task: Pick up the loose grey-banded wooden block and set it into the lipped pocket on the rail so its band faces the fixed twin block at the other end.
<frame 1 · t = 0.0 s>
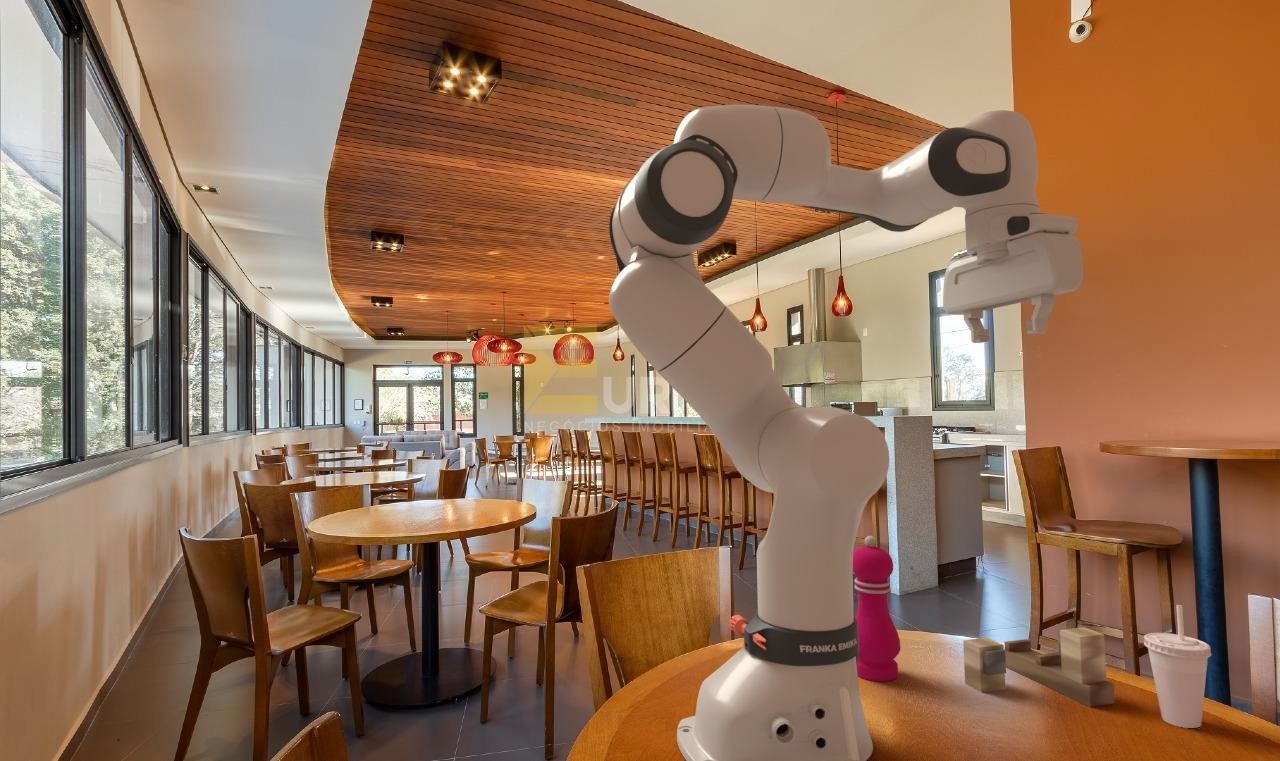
hand: (1007, 338, 85), 48 cm above the table, tool pointing down, fingers open, 8 cm apart
smoothie: (1181, 723, 78), on the table
grey-banded wooden block: (985, 686, 89), on the table
pepper mill: (875, 674, 94), on the table
rail: (1055, 683, 90), on the table
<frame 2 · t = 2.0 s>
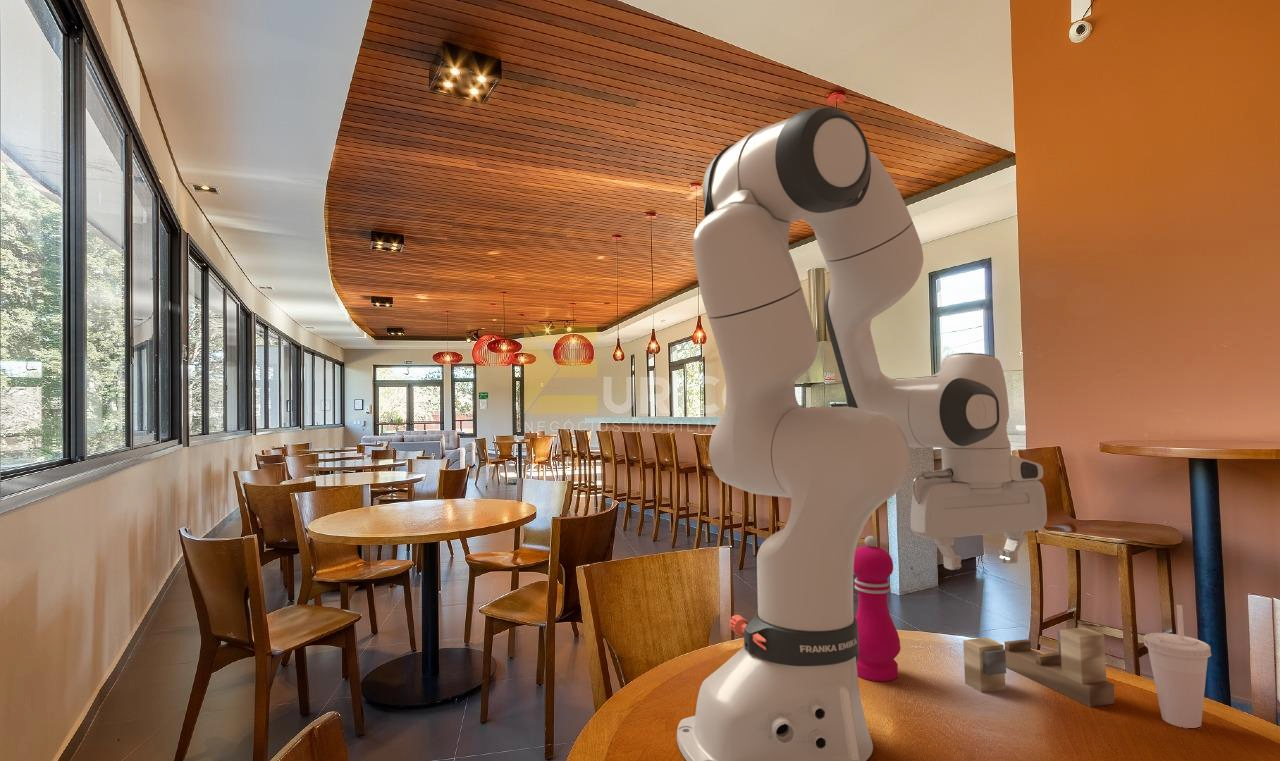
hand: (981, 565, 91), 16 cm above the table, tool pointing down, fingers open, 8 cm apart
nothing on the table moved.
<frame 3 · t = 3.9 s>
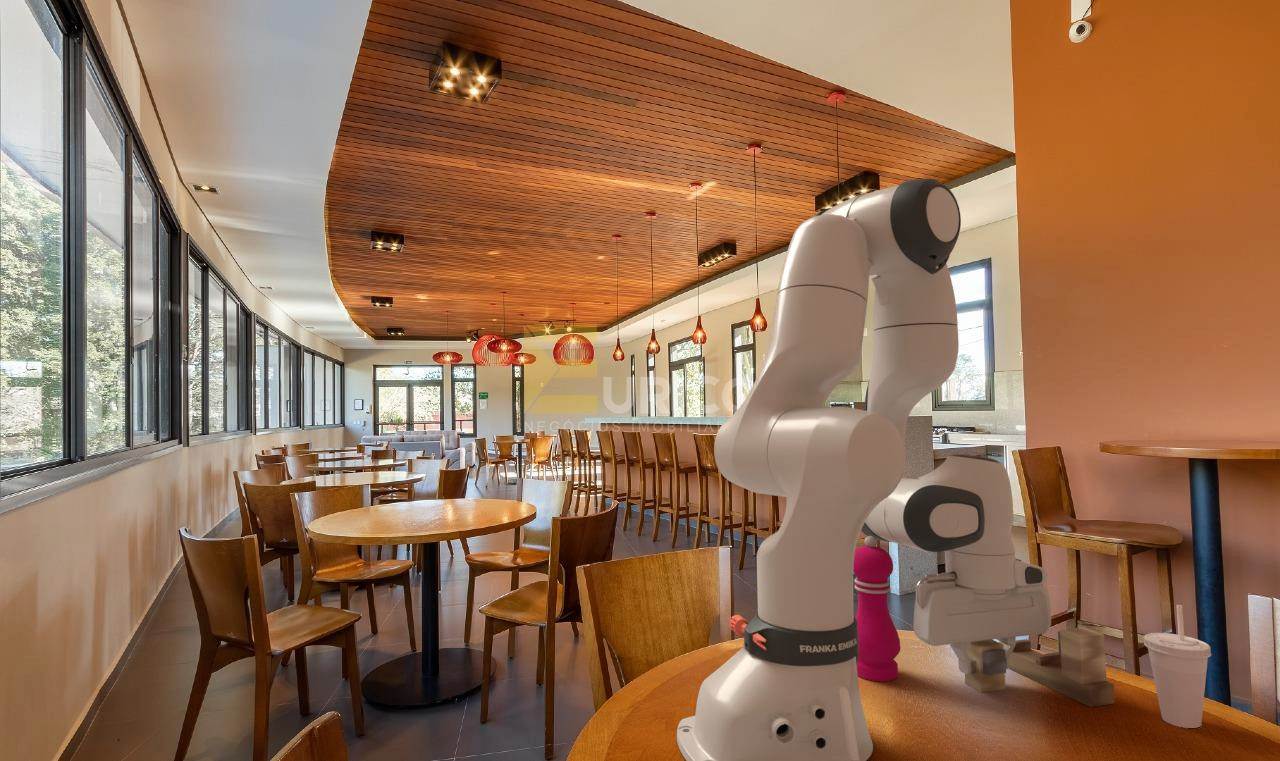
hand: (984, 670, 90), 2 cm above the table, tool pointing down, fingers closed on grey-banded wooden block, 4 cm apart
grey-banded wooden block: (985, 686, 89), on the table, touching gripper
everything else where it was.
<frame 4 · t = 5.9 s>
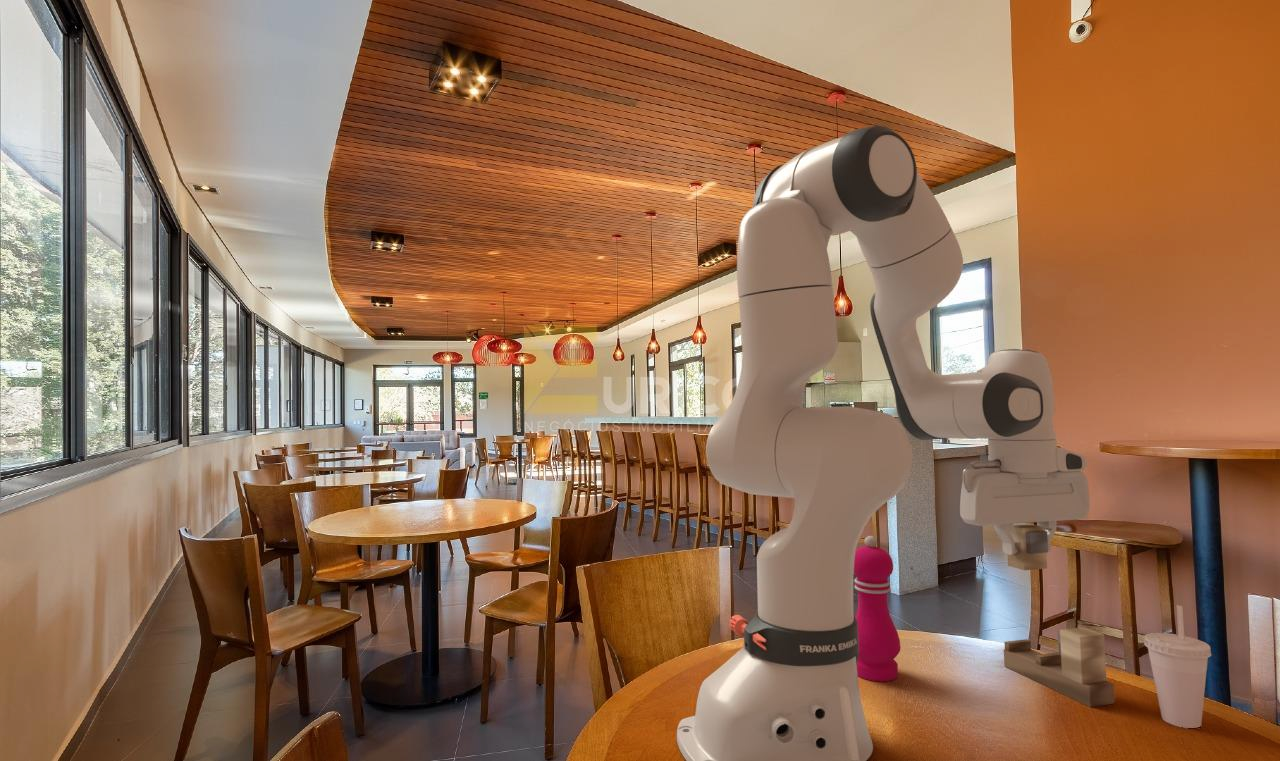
hand: (1026, 552, 95), 17 cm above the table, tool pointing down, fingers closed on grey-banded wooden block, 4 cm apart
grey-banded wooden block: (1027, 567, 95), point 15 cm above the table, touching gripper
everything else where it was.
when the fingers open (6 cm above the table, at t = 8.3 s): grey-banded wooden block stays where it is, resting on rail.
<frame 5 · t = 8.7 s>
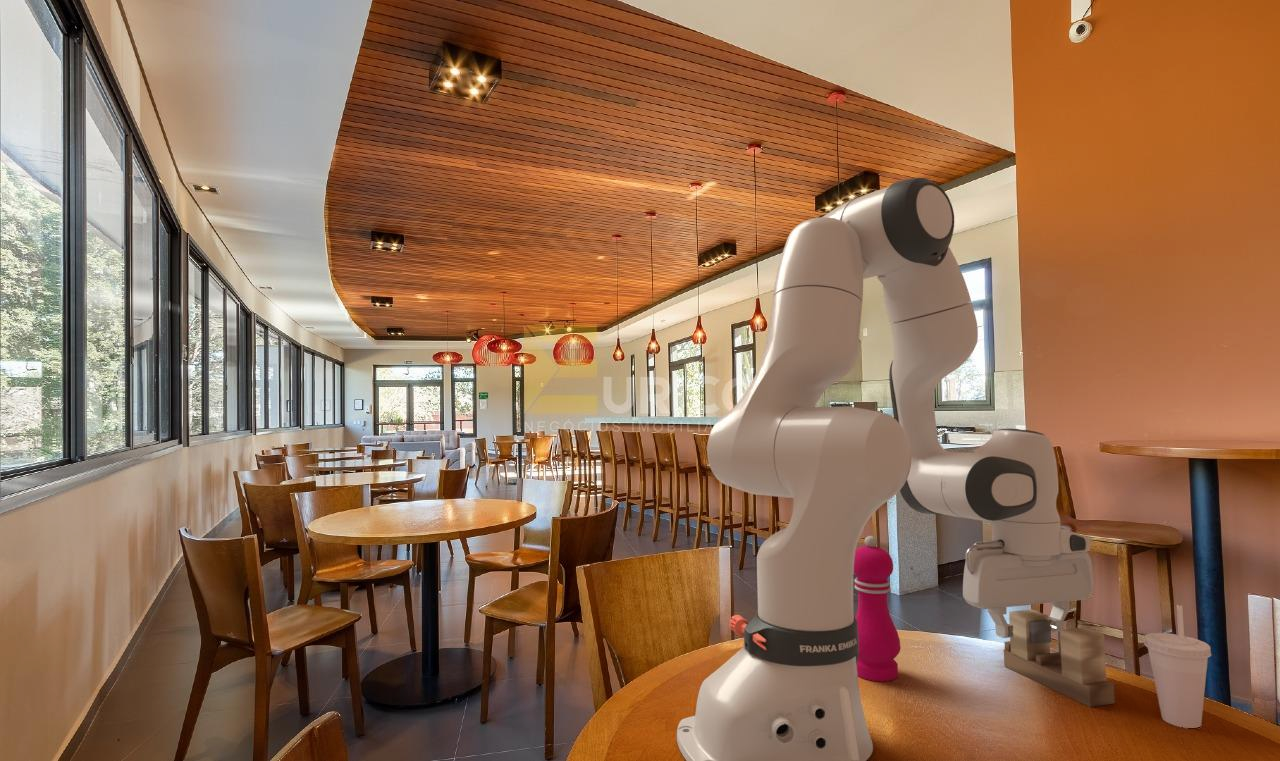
hand: (1030, 633, 94), 6 cm above the table, tool pointing down, fingers open, 8 cm apart
grey-banded wooden block: (1030, 655, 94), point 2 cm above the table, touching rail
everything else where it was.
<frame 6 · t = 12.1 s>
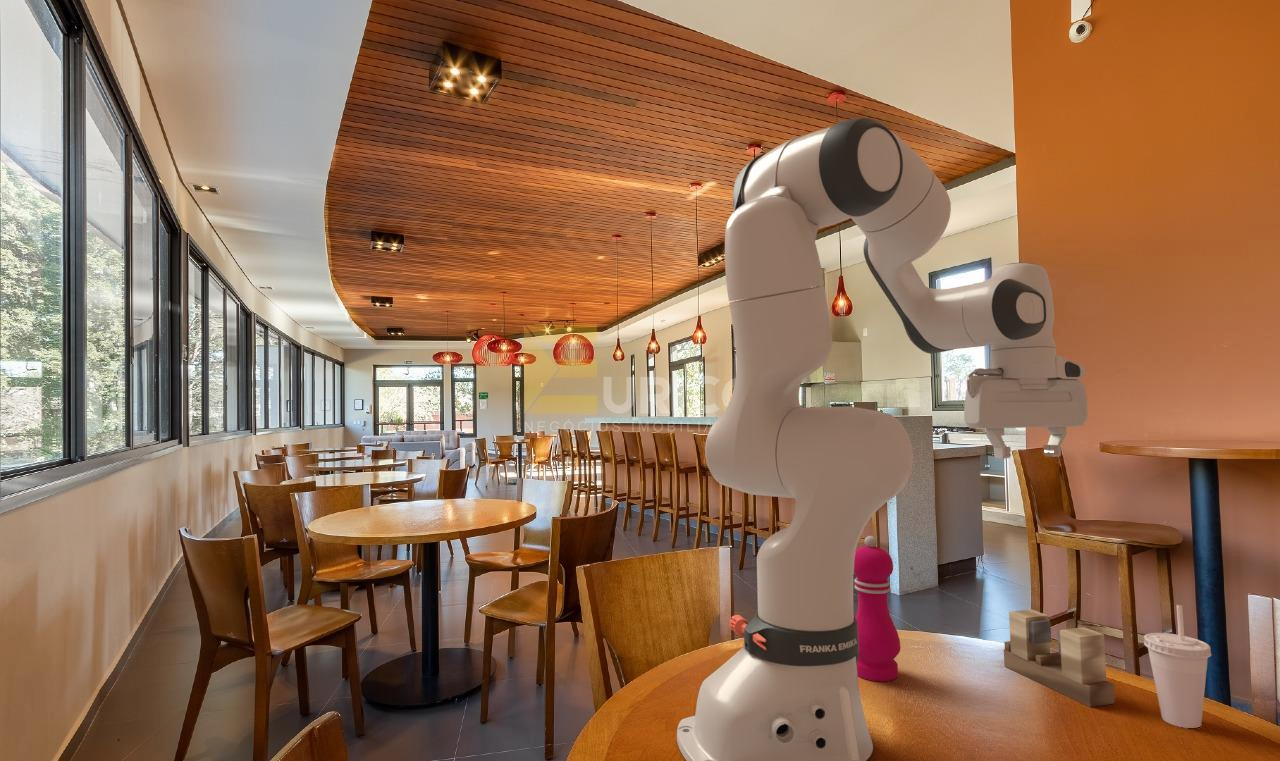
hand: (1027, 457, 99), 31 cm above the table, tool pointing down, fingers open, 8 cm apart
nothing on the table moved.
at the end: grey-banded wooden block 0.3 cm from the target spot on the rail, point 2.5 cm above the rail's base; grey-banded wooden block tilted 0°; the gripper is holding nothing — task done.
